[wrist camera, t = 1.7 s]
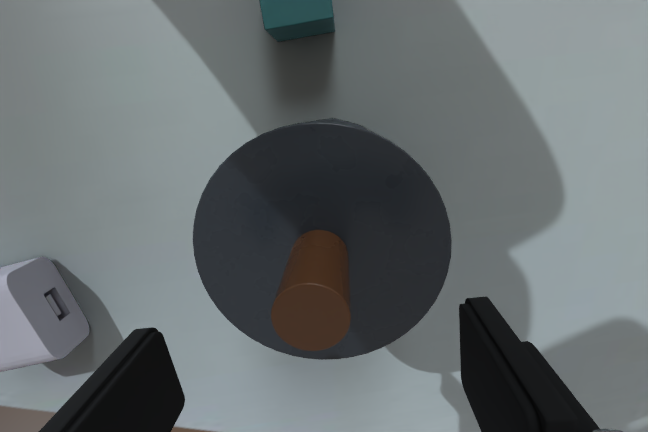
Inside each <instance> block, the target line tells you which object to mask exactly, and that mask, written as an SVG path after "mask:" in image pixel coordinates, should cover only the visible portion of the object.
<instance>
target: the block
mask: <svg viewBox="0 0 648 432" xmlns="http://www.w3.org/2000/svg"><path fill="white" fill-rule="evenodd" d="M259 1H260V6H261V12H262V17H263V23H264V28H265V30H266V31H267V32H268V33H269V34H270V35H271V36H272V37H273V38H274V39H275V40H277V41H278V42H279V41H285V40H290V39H296V38H302V37H307V36H313V35H319V34H324V33H330V32H334V31H335V25H334V15H333V7H332V0H259Z"/></svg>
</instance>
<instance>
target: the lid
mask: <svg viewBox="0 0 648 432" xmlns="http://www.w3.org/2000/svg"><path fill="white" fill-rule="evenodd" d="M193 246H194V256H195V260H196V265H197V269H198V272H199V275H200V277H201V280H202V283H203V285H204V287H205V289H206V291H207V292H208V294H209V296H210V298H211V299H212V301H213V302H214V303H215V305H216V306H217V308H218V309H219V310H220V311H221V313H222V314H223V315H224V316H225V317H226V318H227V319H228V320H229V321H230V322H231V323H232V324H233V325H234V326H236V327H237V328H238V329H239V330H240V331H242V332H243V333H245V334H246V335H247V336H249V337H250V338H252V339H253V340H255V341H257V342H259V343H261V344H263V345H264V346H267V347H269V348H272V349H274V350H276V351H279V352H282V353H286V354H289V355H292V356H298V357H303V358H311V359H341V358H348V357H354V356H358V355H362V354H366V353H369V352H371V351H374V350H377V349H379V348H382V347H384V346H386V345H388V344H390V343H391V342H393V341H395V340H396V339H398V338H399V337H401V336H402V335H404V334H406V333H407V332H408V331H409V330H410V329H411V328H413V327H414V326H415V325H416V324H417V323H418V322H419V321H420V320H421V319H422V318H423V317H424V316H425V314H426V313H427V312H428V311H429V309H430V308H431V306H432V305H433V303H434V302H435V301H436V299H437V297H438V295H439V293H440V291H441V289H442V287H443V284H444V281H445V279H446V276H447V273H448V268H449V263H450V258H451V231H450V223H449V219H448V215H447V212H446V208H445V206H444V203H443V201H442V198H441V196H440V194H439V192H438V190H437V188H436V187H435V185H434V184H433V182H432V180H431V179H430V177H429V176H428V175H427V174H426V172H425V171H424V170H423V169H422V167H421V166H420V165H419V164H418V163H417V162H416V161H415V160H414V159H413V158H412V157H410V156H409V155H408V154H407V153H406V152H405V151H404V150H402V149H401V148H399V147H398V146H396V145H395V144H393V143H392V142H391V141H389V140H387V139H385V138H383V137H381V136H379V135H377V134H375V133H373V132H371V131H368V130H365V129H362V128H359V127H356V126H352V125H347V124H341V123H336V122H318V121H317V122H305V123H297V124H292V125H288V126H283V127H280V128H277V129H274V130H272V131H269V132H266V133H264V134H262V135H260V136H258V137H256V138H254V139H252V140H251V141H249V142H247V143H245V144H244V145H243V146H241V147H240V148H239V149H237V150H236V151H235V152H233V153H232V154H231V155H230V156H229V157H228V158H227V159H226V160H225V161H224V162H223V163H222V164H221V165H220V166H219V168H218V169H217V170H216V172H215V173H214V174H213V176H212V177H211V178H210V180H209V182H208V184H207V186H206V187H205V189H204V191H203V193H202V196H201V198H200V201H199V204H198V207H197V210H196V215H195V220H194V229H193Z"/></svg>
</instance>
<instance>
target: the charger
mask: <svg viewBox="0 0 648 432" xmlns="http://www.w3.org/2000/svg"><path fill="white" fill-rule="evenodd" d="M88 334H89V325H88V321H87V319H86V317H85V316H84V314H83V312H82V310H81V309H80V307H79V305H78V304H77V302H76V300H75V298H74V297H73V295H72V293H71V292H70V290H69V288H68V287H67V285H66V283H65V281H64V280H63V278H62V276H61V275H60V273H59V271H58V269H57V268H56V266H55V265H54V264H53V263H52V262H51V261H50V260H49V259H48V258H46V257H38V258H35V259H31V260H27V261H23V262H19V263H15V264H11V265H8V266H4V267H0V372H1V371H6V370H11V369H15V368H20V367H25V366H30V365H35V364H39V363H44V362H49V361H54V360H59V359H62V358H64V357H65V356H66V355H67V354H69V353H70V352H71V351H72V350H73V349H74V348H75V347H76V346H77V345H78V344H79V343H80V342H82V341H83V340H84V339H85V338H86V337H87V336H88Z"/></svg>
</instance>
